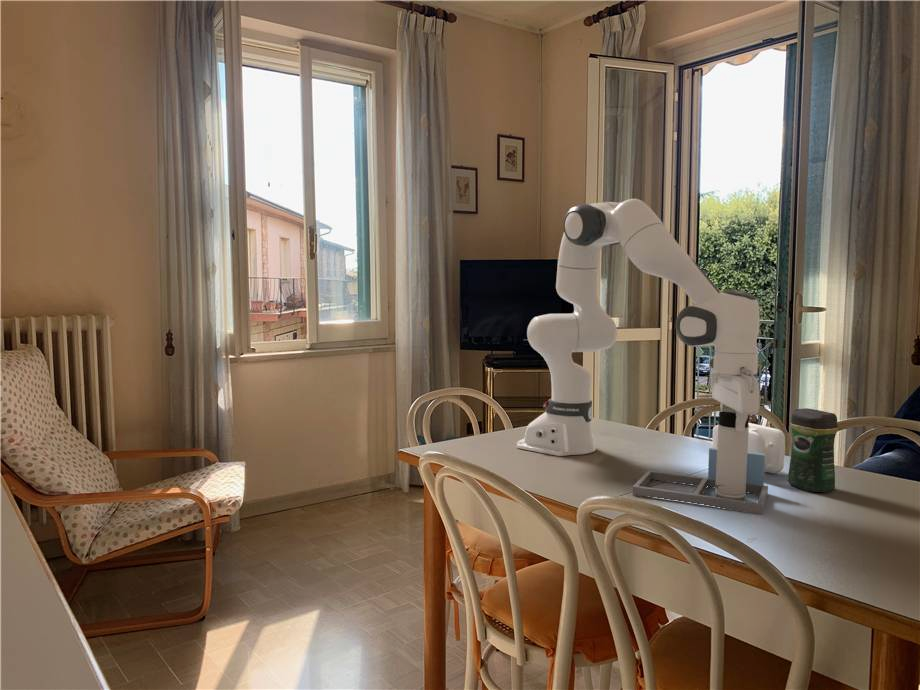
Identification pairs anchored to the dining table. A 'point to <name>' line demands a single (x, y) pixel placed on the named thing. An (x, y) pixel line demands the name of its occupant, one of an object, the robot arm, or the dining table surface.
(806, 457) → the coffee jar
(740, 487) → the travel mug
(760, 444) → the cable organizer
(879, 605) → the dining table surface
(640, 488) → the rack
